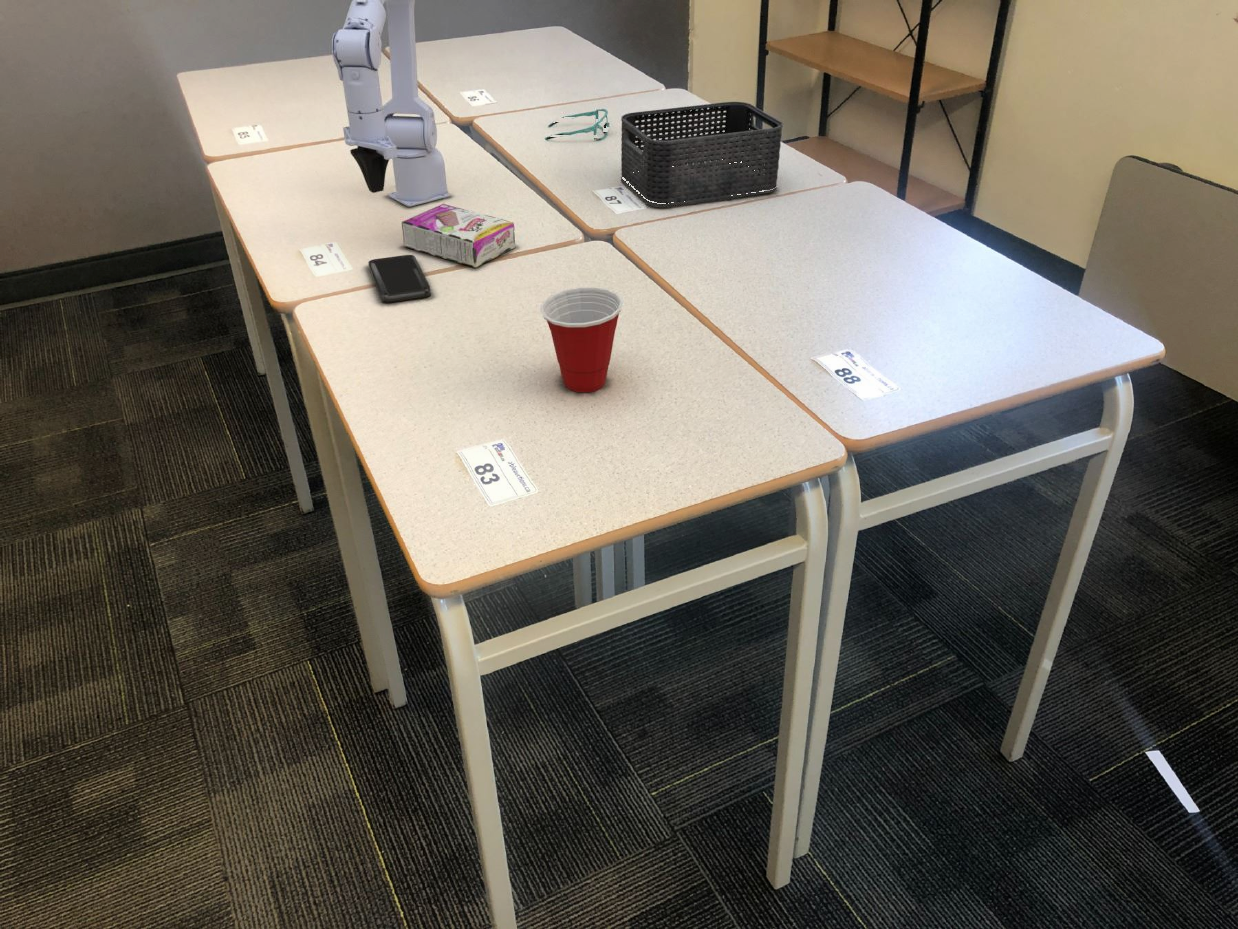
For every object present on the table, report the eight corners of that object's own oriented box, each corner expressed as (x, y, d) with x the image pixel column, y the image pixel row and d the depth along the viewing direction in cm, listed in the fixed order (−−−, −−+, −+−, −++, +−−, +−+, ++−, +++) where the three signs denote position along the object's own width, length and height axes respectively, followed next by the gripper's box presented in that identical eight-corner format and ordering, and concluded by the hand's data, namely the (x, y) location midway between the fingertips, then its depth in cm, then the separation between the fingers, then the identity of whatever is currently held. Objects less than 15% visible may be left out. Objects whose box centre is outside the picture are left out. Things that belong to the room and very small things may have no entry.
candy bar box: (442, 201, 171) (515, 221, 164) (444, 227, 174) (516, 248, 167) (399, 220, 163) (474, 241, 156) (402, 247, 166) (476, 269, 159)
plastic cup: (542, 363, 134) (538, 285, 127) (618, 361, 135) (619, 283, 128) (543, 404, 125) (540, 322, 118) (625, 401, 126) (626, 320, 119)
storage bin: (651, 210, 182) (653, 140, 174) (615, 178, 197) (615, 112, 189) (782, 193, 191) (790, 125, 183) (738, 164, 205) (744, 99, 197)
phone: (381, 297, 148) (367, 259, 159) (382, 303, 148) (368, 266, 160) (432, 289, 150) (414, 253, 161) (432, 296, 150) (415, 259, 162)
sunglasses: (609, 143, 216) (607, 120, 213) (544, 148, 217) (541, 126, 214) (611, 125, 227) (609, 103, 224) (549, 130, 228) (546, 109, 225)
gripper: (321, 103, 157) (335, 184, 165) (364, 123, 148) (376, 207, 156) (360, 96, 161) (371, 175, 169) (404, 115, 152) (413, 198, 160)
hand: (376, 190), depth 163 cm, fingers closed
